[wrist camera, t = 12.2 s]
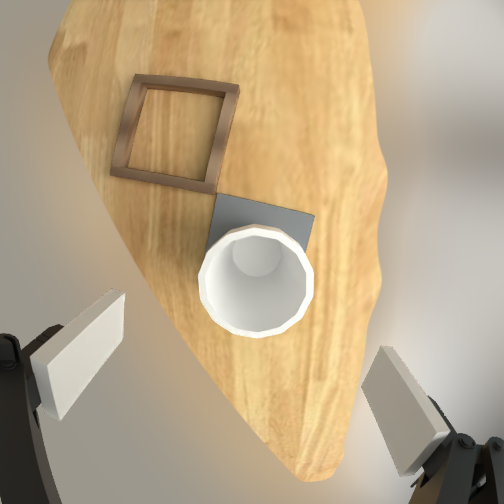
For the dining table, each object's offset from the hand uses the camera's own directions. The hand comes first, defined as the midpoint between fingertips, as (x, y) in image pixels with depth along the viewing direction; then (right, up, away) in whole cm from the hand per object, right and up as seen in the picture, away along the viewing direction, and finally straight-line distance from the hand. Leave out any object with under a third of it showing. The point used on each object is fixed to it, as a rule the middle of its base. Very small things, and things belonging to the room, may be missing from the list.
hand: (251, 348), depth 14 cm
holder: (-9, +19, +20) cm, 30 cm away
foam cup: (+1, +5, +23) cm, 23 cm away
